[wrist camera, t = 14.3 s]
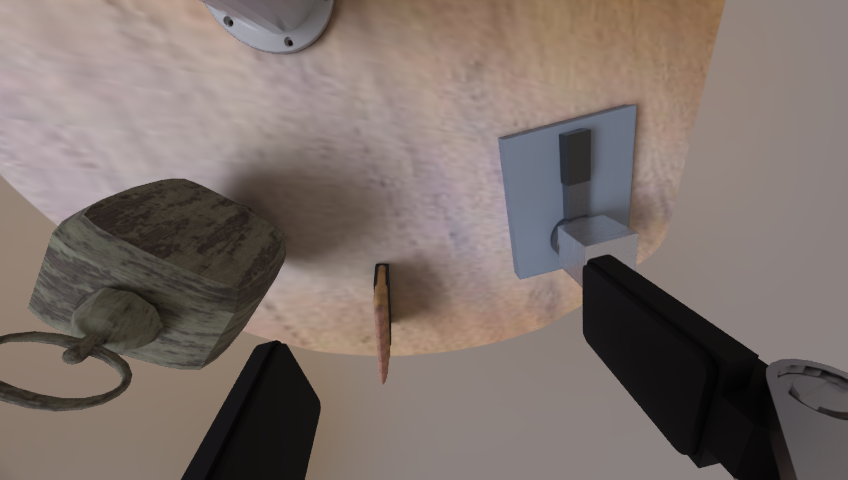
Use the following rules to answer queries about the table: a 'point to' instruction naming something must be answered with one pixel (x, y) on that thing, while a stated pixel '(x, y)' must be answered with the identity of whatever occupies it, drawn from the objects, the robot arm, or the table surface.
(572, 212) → the ratchet
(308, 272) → the table surface
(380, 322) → the ammunition clip
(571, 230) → the matte grey cube
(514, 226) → the slate board
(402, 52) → the table surface
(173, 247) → the tabletop clock
